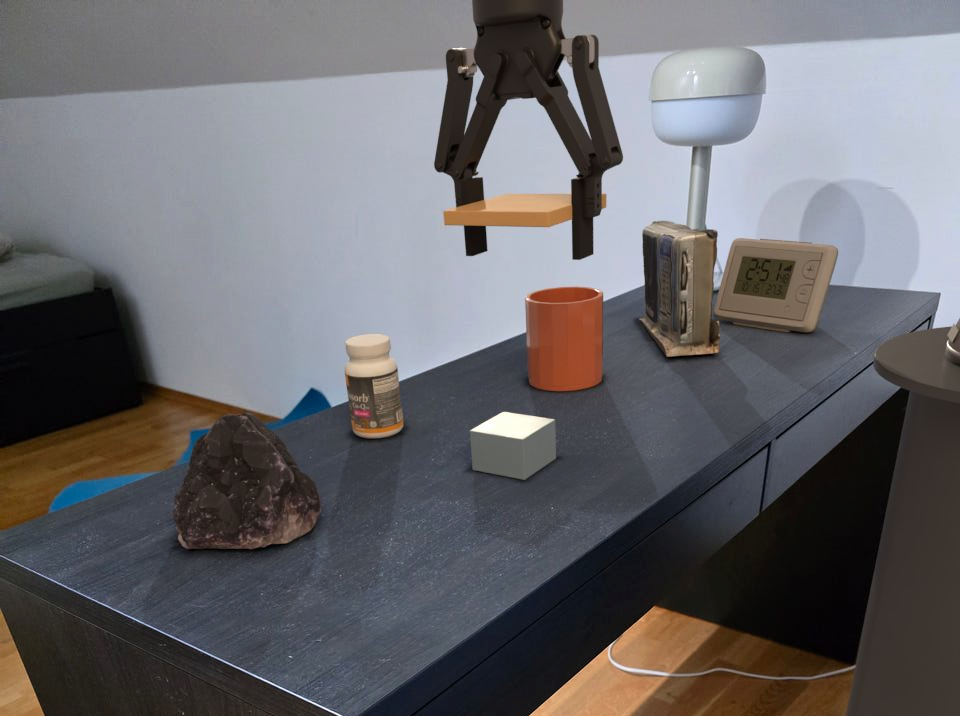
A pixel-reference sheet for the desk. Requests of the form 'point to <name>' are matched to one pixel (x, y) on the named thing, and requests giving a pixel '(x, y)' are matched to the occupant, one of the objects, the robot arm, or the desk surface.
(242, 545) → the crystal cluster
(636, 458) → the desk surface
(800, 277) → the digital clock
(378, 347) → the pill bottle
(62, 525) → the desk surface
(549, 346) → the cup
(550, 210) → the mat
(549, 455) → the stand
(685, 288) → the radio
